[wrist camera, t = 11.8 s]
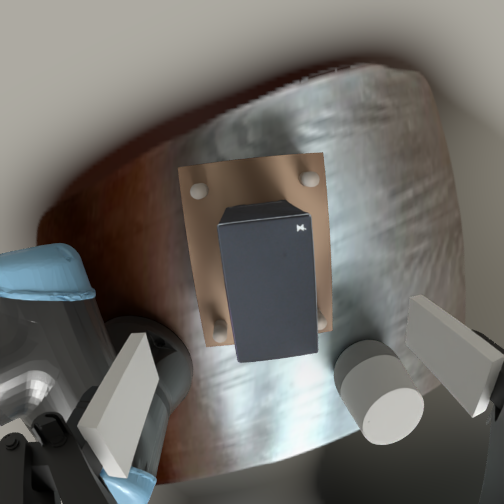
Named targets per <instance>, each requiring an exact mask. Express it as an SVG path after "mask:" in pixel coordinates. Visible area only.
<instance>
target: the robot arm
mask: <svg viewBox="0 0 504 504" xmlns="http://www.w3.org/2000/svg"><path fill="white" fill-rule="evenodd" d="M95 296H96V292H95V290H94V289H93V288H92V287H91V285H90V282H89V280H88V277H87V274H86V272H85V269H84V266H83V263H82V260H81V258H80V255H79V254H78V252H77V251H76V250H75V249H74V248H73V247H71V246H69V245H67V244H64V243H55V244H48V245H42V246H37V247H31V248H26V249H21V250H16V251H11V252H6V253H2V254H0V426H3V425H4V424H6V423H9V422H11V421H13V420H15V419H17V418H21V419H22V421H23V422H24V423H25V425H26V426H27V428H28V429H29V431H30V432H31V434H32V435H33V436H34V438H35V440H36V442H28V441H27V440H26V438H25V437H24V436H23V435H22V434H20V433H10V434H7V435H6V436H4V437H3V438H2V439H1V441H0V504H61V501H62V503H63V504H147V503H148V501H149V499H150V496H151V493H152V491H153V488H154V485H155V484H156V481H157V480H156V473H157V468H158V464H159V459H160V455H161V450H162V446H163V442H164V437H165V433H166V429H167V424H168V420H169V416H170V415H171V413H172V412H173V411H174V410H175V409H176V407H177V406H178V405H179V404H180V403H181V402H182V401H183V400H184V398H185V397H186V395H187V394H188V391H189V389H190V386H191V381H192V376H193V365H192V360H191V357H190V354H189V352H188V350H187V349H186V347H185V345H184V344H183V343H182V341H181V340H180V339H179V338H178V337H177V336H176V335H175V334H174V333H173V332H172V331H170V330H169V329H168V328H166V327H165V326H163V325H161V324H159V323H157V322H155V321H153V320H150V319H147V318H144V317H139V316H121V317H117V318H114V319H111V320H109V321H107V322H106V323H104V321H103V319H102V316H101V313H100V310H99V308H98V305H97V302H96V299H95ZM405 344H406V345H407V346H408V347H409V348H410V349H411V351H412V352H413V353H414V354H415V355H416V356H417V357H418V358H419V359H420V360H421V361H422V362H423V363H424V364H425V365H426V367H427V368H428V369H429V370H430V371H431V372H432V373H433V374H434V375H435V376H436V377H437V379H438V380H439V381H440V382H441V383H442V384H443V385H444V386H445V387H446V388H447V390H448V391H449V392H450V393H451V394H452V395H453V396H454V397H455V398H456V400H457V401H458V402H459V403H460V404H461V405H462V406H463V407H464V409H465V410H466V411H467V412H468V413H469V414H470V416H471V417H474V416H477V415H479V414H480V413H482V412H484V411H485V410H486V408H487V405H488V403H489V401H490V400H491V401H492V402H493V403H494V406H493V408H492V411H491V413H490V415H489V417H488V419H487V422H486V424H488V423H489V421H490V420H491V430H490V440H489V449H488V458H487V464H486V471H485V477H484V482H483V487H482V492H481V496H480V501H479V504H504V349H502V348H501V347H500V346H498V345H497V344H496V343H495V344H494V342H493V341H492V340H490V339H489V338H488V337H486V336H485V335H484V334H482V333H480V332H478V331H475V330H470V329H469V328H468V327H466V326H465V325H464V324H462V323H461V322H459V321H458V320H457V319H455V318H454V317H453V316H451V315H450V314H448V313H447V312H446V311H444V310H443V309H441V308H440V307H438V306H437V305H436V304H434V303H433V302H431V301H430V300H428V299H427V298H426V297H424V296H423V295H418V296H414V297H410V300H409V312H408V322H407V331H406V339H405ZM60 498H61V499H60Z"/></svg>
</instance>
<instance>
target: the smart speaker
mask: <svg viewBox="0 0 504 504" xmlns="http://www.w3.org/2000/svg"><path fill="white" fill-rule="evenodd" d="M334 381H335V385H336V388H337V390H338V393H339V395H340V397H341V398H342V400H343V402H344V403H345V405H346V407H347V408H348V410H349V412H350V413H351V415H352V417H353V418H354V420H355V421H356V423H357V425H358V426H359V428H360V430H361V431H362V433H363V435H364V436H365V437H366V438H367V440H368V441H370V442H371V443H374V444H379V445H385V444H390V443H393V442H396V441H398V440H400V439H402V438H404V437H405V436H407V435H408V434H409V433H410V432H411V431H412V430H413V429H414V428H415V427H416V425H417V424H418V422H419V421H420V419H421V416H422V413H423V409H424V402H423V398H422V396H421V394H420V392H419V391H418V389H417V387H416V385H415V384H414V382H413V380H412V379H411V377H410V375H409V374H408V372H407V370H406V369H405V367H404V365H403V364H402V362H401V361H400V359H399V358H398V356H397V355H396V354H395V353H394V351H393V350H392V349H391V348H389V347H388V346H387V345H385V344H384V343H381V342H379V341H375V340H363V341H359V342H357V343H354V344H352V345H351V346H349V347H348V348H347V349H345V350H344V351H343V352H342V354H341V355H340V356H339V358H338V360H337V362H336V364H335V368H334Z"/></svg>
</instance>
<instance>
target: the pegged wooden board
mask: <svg viewBox="0 0 504 504" xmlns="http://www.w3.org/2000/svg"><path fill="white" fill-rule="evenodd" d="M178 174H179V182H180V190H181V198H182V206H183V213H184V220H185V227H186V234H187V241H188V247H189V254H190V260H191V266H192V272H193V278H194V284H195V290H196V296H197V301H198V307H199V312H200V317H201V323H202V328H203V333H204V338H205V343H206V347H212V346H223V345H233V344H234V338H233V332H232V327H231V321H230V315H229V309H228V303H227V296H226V290H225V283H224V276H223V269H222V262H221V254H220V248H219V240H218V232H217V225H218V224H219V221H220V220H221V218H222V216H223V214H224V211H225V209H226V208H227V207H233V206H236V205H242V204H245V205H248V204H257V203H266V202H271V201H273V202H275V201H278V200H284V199H286V200H287V201H288V202H289V203H290V204H292V205H294V206H296V207H297V208H299V209H301V210H303V211H304V212H308V213H309V214H310V215H311V217H312V229H313V241H314V257H315V274H316V291H317V316H318V318H317V320H318V333H323V332H329V331H333V324H332V271H331V247H330V229H329V214H328V200H327V188H326V177H325V166H324V157H323V152H322V153H305V154H291V155H278V156H267V157H256V158H247V159H237V160H229V161H221V162H213V163H205V164H198V165H191V166H185V167H178Z"/></svg>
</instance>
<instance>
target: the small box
mask: <svg viewBox="0 0 504 504" xmlns="http://www.w3.org/2000/svg"><path fill="white" fill-rule="evenodd" d="M217 232H218V240H219V248H220V254H221V262H222V269H223V276H224V283H225V290H226V296H227V303H228V309H229V315H230V321H231V327H232V332H233V338H234V344H235V349H236V355H237V360H238V362H239V363H244V362H256V361H264V360H272V359H280V358H288V357H294V356H301V355H307V354H313V353H318V320H317V318H318V316H317V291H316V274H315V257H314V241H313V229H312V217H311V215H310V214H309V213H308V212H304V211H303V210H301V209H299V208H297V207H296V206H294V205H292V204H290V203H289V202H288V201H287V200H286V199H284V200H278V201H275V202H273V201H271V202H266V203H257V204H248V205H245V204H242V205H236V206H233V207H227V208H226V209H225V211H224V214H223V216H222V218H221V220H220V221H219V224H218V225H217Z"/></svg>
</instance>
